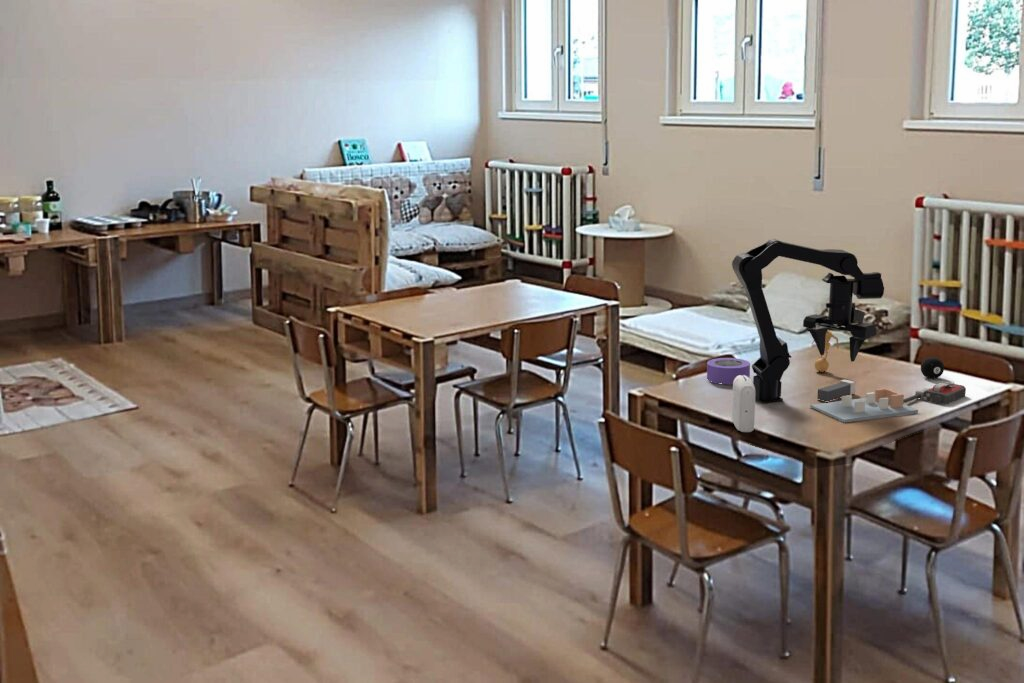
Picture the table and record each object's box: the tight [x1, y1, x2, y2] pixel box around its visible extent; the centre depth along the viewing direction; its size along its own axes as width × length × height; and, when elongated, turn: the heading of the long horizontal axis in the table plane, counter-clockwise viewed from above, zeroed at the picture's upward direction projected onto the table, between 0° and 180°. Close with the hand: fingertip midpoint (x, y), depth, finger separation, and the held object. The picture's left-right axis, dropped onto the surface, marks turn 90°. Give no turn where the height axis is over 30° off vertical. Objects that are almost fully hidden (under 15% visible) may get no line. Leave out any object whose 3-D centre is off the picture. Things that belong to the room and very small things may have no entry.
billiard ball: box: [920, 356, 945, 380], centre depth 315 cm, size 6×6×6 cm
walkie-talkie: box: [903, 381, 967, 405], centre depth 294 cm, size 9×4×20 cm
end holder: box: [874, 387, 905, 408], centre depth 288 cm, size 3×7×3 cm, turn 20°
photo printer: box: [731, 375, 756, 433], centre depth 273 cm, size 10×4×12 cm, turn 179°
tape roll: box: [706, 357, 751, 385], centre depth 316 cm, size 12×12×5 cm
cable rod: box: [816, 379, 856, 401], centre depth 298 cm, size 12×3×3 cm, turn 130°
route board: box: [809, 391, 919, 424], centre depth 285 cm, size 22×14×3 cm, turn 110°
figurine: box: [811, 329, 839, 373], centre depth 323 cm, size 8×6×12 cm
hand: (837, 358), depth 296 cm, fingers open, 9 cm apart
